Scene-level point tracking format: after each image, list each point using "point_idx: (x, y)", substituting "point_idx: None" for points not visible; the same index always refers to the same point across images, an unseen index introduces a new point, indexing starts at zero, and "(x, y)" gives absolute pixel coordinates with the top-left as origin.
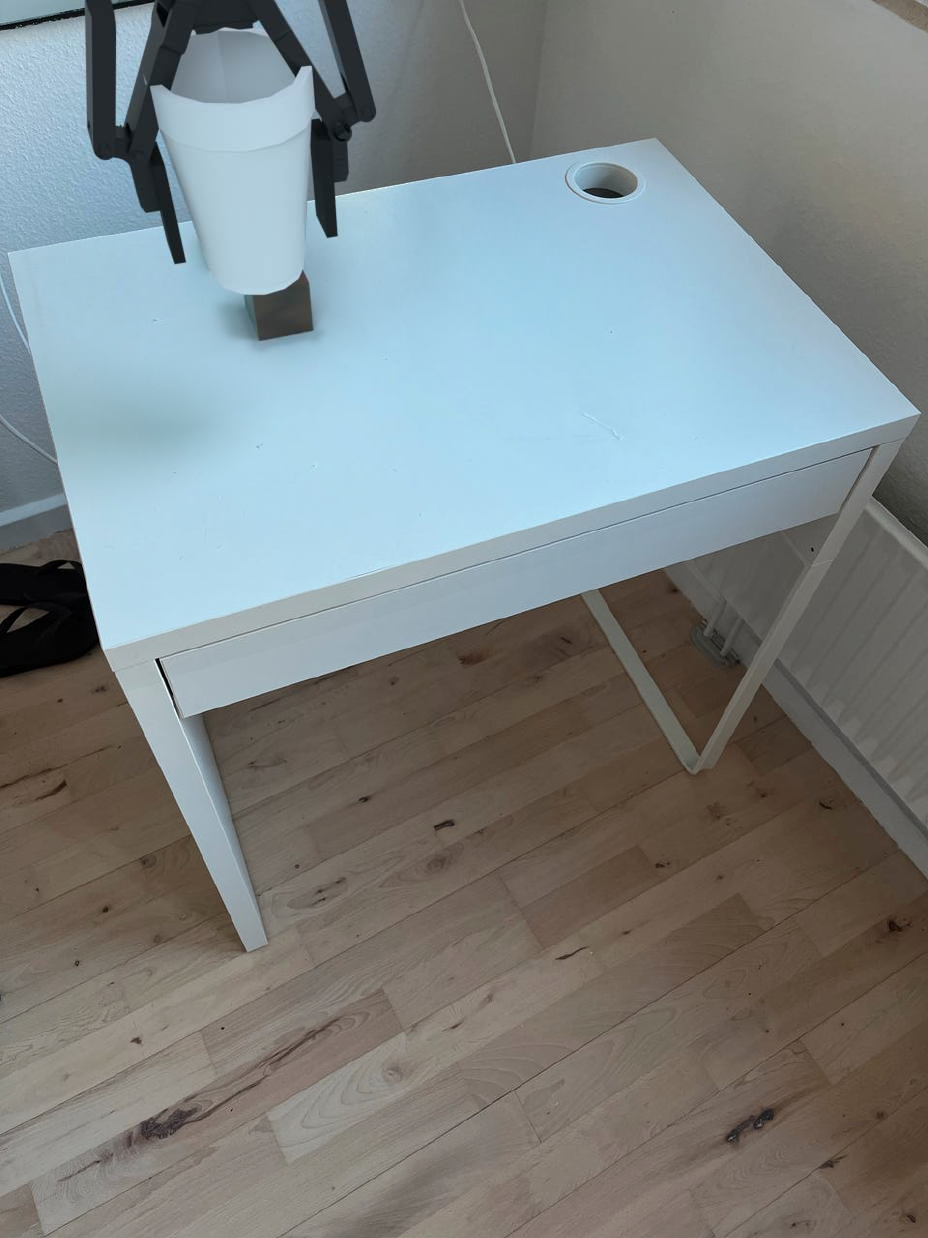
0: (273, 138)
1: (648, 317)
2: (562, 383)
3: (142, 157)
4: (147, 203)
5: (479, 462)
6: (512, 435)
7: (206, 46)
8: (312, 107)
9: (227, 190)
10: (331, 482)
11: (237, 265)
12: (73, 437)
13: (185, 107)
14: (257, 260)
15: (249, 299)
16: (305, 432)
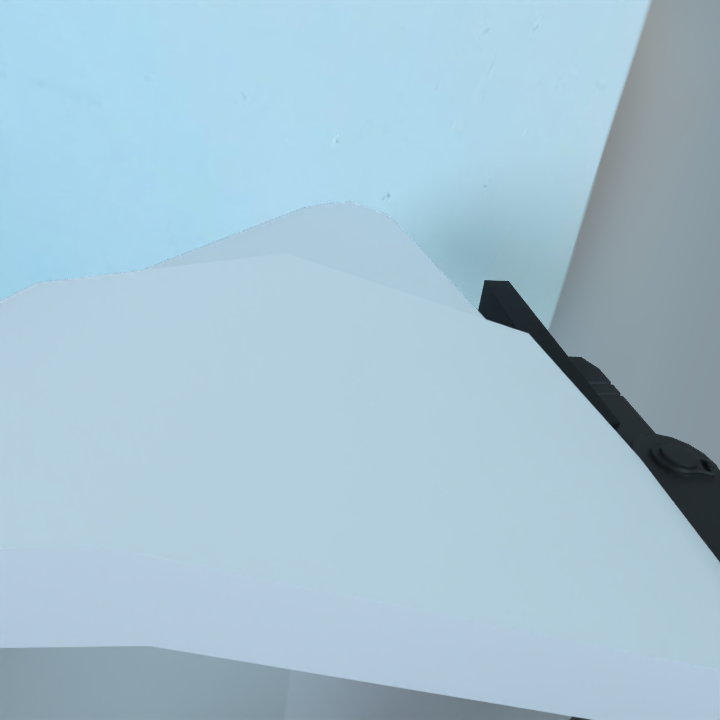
0: (51, 291)
1: None
2: (24, 180)
3: (671, 452)
4: (583, 369)
5: (134, 70)
6: (88, 107)
7: None
8: None
9: (411, 261)
10: (323, 103)
11: (395, 223)
12: (556, 273)
13: None
14: (351, 208)
15: None
16: (332, 200)
